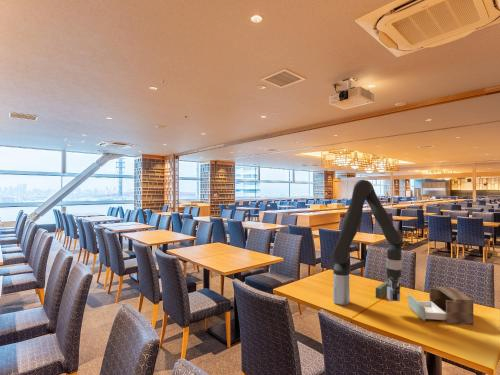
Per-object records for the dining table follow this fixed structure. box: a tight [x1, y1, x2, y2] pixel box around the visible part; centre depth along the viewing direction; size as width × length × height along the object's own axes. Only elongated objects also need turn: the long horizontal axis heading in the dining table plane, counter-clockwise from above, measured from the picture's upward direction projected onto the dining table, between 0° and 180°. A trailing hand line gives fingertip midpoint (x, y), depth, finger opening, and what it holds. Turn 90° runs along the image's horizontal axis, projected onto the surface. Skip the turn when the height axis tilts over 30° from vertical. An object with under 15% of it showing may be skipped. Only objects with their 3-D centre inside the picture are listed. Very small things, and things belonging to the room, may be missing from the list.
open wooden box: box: [429, 286, 475, 326], centre depth 154 cm, size 12×19×13 cm, turn 171°
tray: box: [407, 293, 446, 321], centre depth 156 cm, size 12×19×6 cm, turn 171°
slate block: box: [386, 287, 401, 302], centre depth 158 cm, size 5×5×6 cm
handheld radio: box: [375, 279, 388, 299], centre depth 189 cm, size 7×3×25 cm
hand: (393, 298), depth 158 cm, fingers closed on slate block, 5 cm apart
